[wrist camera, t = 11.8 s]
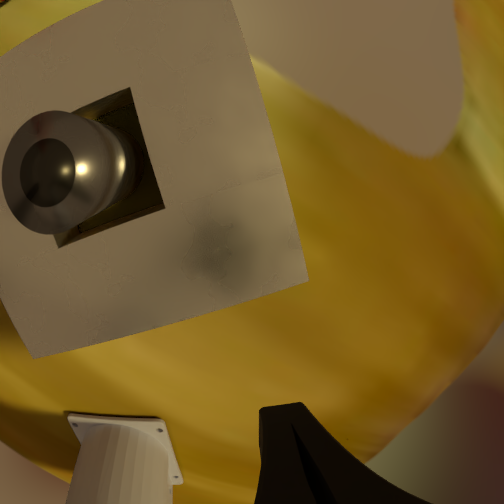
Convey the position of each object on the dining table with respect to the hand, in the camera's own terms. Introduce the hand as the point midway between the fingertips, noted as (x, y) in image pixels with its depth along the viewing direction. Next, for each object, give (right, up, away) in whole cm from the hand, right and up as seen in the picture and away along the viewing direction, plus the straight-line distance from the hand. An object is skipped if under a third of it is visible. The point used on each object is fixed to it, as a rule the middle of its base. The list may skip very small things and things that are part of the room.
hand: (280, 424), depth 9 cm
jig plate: (-8, +10, +6) cm, 14 cm away
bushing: (-8, +10, +6) cm, 14 cm away
